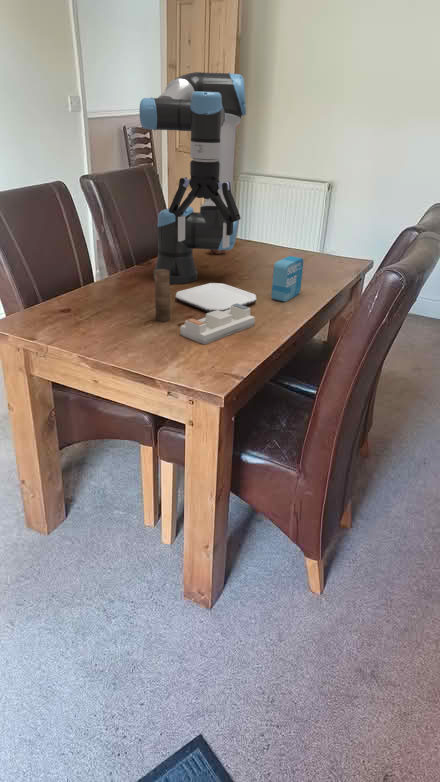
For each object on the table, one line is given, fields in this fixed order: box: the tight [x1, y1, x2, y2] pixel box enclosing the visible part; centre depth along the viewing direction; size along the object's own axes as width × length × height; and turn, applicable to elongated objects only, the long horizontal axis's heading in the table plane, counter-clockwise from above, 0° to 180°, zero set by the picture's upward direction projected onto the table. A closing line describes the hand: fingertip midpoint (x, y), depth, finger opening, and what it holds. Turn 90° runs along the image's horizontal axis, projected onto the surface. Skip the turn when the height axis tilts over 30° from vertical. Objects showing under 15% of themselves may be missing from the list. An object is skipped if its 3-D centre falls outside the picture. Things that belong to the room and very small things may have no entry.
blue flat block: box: [271, 255, 304, 303], centre depth 179 cm, size 12×4×12 cm, turn 147°
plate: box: [175, 282, 257, 313], centre depth 176 cm, size 21×21×2 cm
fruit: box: [210, 250, 226, 255], centre depth 225 cm, size 8×8×8 cm
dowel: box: [154, 269, 171, 323], centre depth 157 cm, size 4×4×14 cm
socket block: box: [179, 303, 256, 346], centre depth 154 cm, size 9×20×5 cm, turn 137°
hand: (203, 243), depth 154 cm, fingers open, 13 cm apart
